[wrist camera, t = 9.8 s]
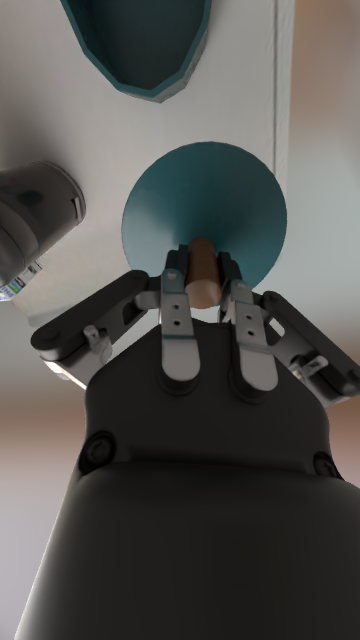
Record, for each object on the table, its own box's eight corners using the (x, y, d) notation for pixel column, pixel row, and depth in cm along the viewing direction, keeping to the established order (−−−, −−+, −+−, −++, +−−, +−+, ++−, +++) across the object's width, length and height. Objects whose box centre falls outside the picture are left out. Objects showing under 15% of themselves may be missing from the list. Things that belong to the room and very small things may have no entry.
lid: (130, 291, 20) (111, 341, 15) (116, 118, 10) (55, 115, 6) (241, 308, 21) (254, 359, 16) (323, 163, 11) (410, 191, 7)
